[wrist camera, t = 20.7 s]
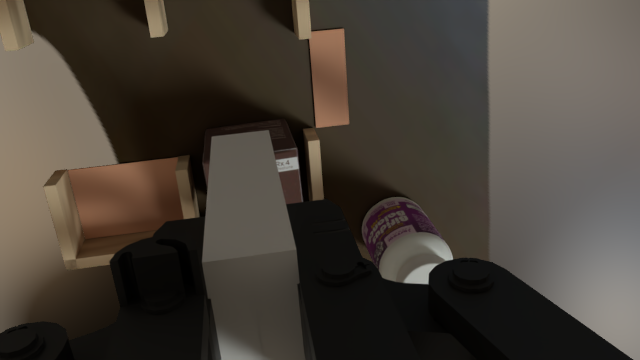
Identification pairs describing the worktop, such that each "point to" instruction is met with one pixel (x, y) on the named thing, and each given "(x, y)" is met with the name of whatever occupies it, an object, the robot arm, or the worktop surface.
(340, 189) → the worktop surface
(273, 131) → the box
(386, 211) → the pill bottle
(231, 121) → the worktop surface
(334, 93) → the tray
